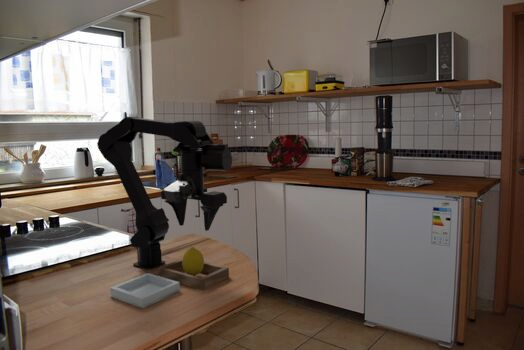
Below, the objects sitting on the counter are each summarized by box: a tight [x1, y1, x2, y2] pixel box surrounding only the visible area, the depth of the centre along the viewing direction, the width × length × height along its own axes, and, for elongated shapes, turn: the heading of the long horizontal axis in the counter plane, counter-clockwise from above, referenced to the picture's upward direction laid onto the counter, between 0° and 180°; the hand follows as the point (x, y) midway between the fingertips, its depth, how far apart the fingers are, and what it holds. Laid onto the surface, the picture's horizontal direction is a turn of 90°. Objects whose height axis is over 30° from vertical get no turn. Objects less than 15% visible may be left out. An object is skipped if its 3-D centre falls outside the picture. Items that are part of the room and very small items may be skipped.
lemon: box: [181, 246, 205, 277], centre depth 112 cm, size 6×6×8 cm
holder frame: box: [157, 257, 230, 291], centre depth 113 cm, size 15×10×2 cm, turn 55°
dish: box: [109, 272, 181, 309], centre depth 102 cm, size 11×11×2 cm
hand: (194, 227), depth 115 cm, fingers open, 9 cm apart
